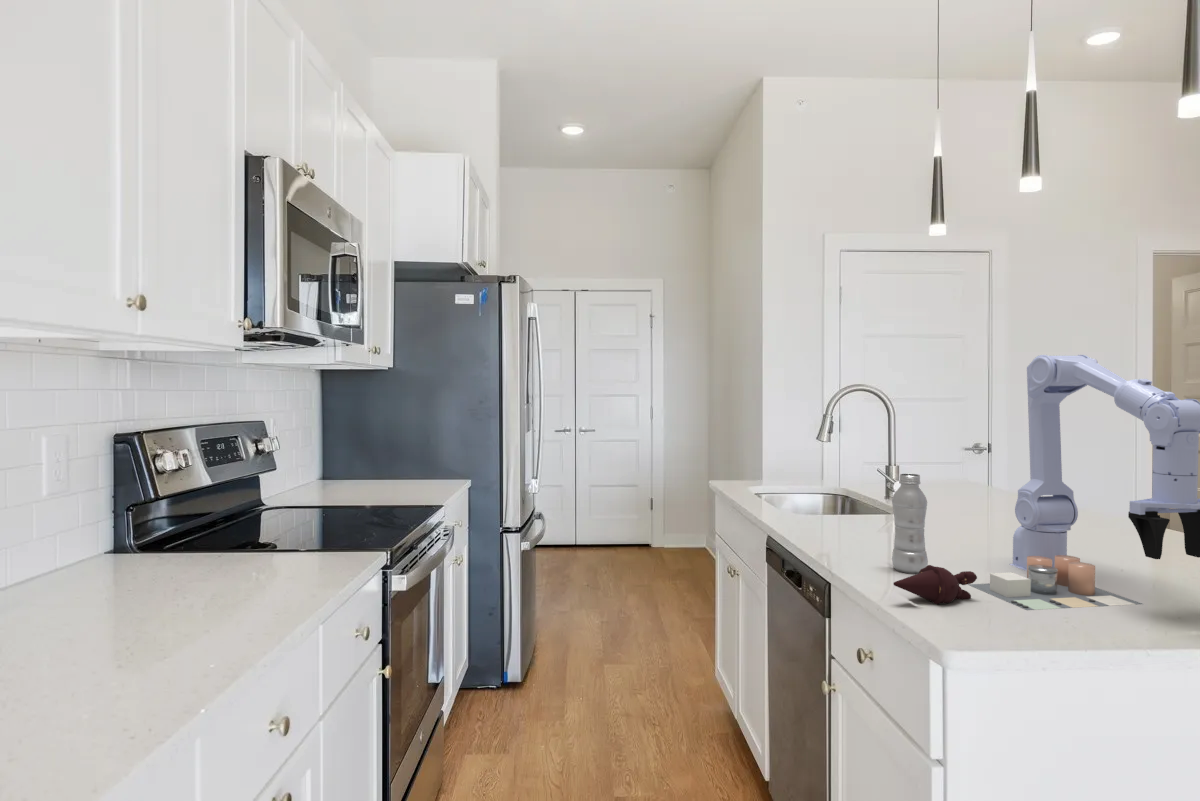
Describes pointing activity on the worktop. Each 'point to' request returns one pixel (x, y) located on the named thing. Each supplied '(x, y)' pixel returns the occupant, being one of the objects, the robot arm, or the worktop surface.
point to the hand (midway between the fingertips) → (1173, 556)
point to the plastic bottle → (909, 525)
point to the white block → (1010, 584)
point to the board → (1061, 599)
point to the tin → (1043, 579)
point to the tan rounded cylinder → (1081, 578)
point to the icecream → (938, 584)
